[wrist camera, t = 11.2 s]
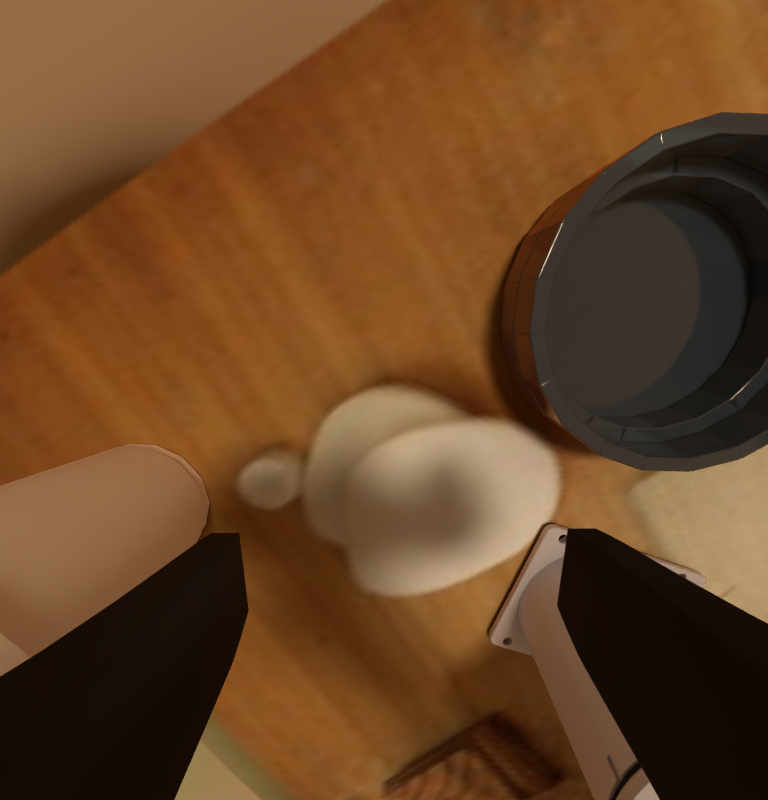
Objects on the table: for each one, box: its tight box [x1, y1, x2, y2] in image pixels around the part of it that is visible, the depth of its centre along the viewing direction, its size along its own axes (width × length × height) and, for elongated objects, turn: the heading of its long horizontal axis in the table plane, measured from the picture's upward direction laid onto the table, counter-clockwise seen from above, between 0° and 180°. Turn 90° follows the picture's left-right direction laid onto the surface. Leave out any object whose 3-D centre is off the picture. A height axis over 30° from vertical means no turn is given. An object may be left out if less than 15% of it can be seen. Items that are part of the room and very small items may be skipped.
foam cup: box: [0, 444, 210, 676], centre depth 13 cm, size 10×9×13 cm
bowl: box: [500, 112, 768, 472], centre depth 15 cm, size 12×12×4 cm
